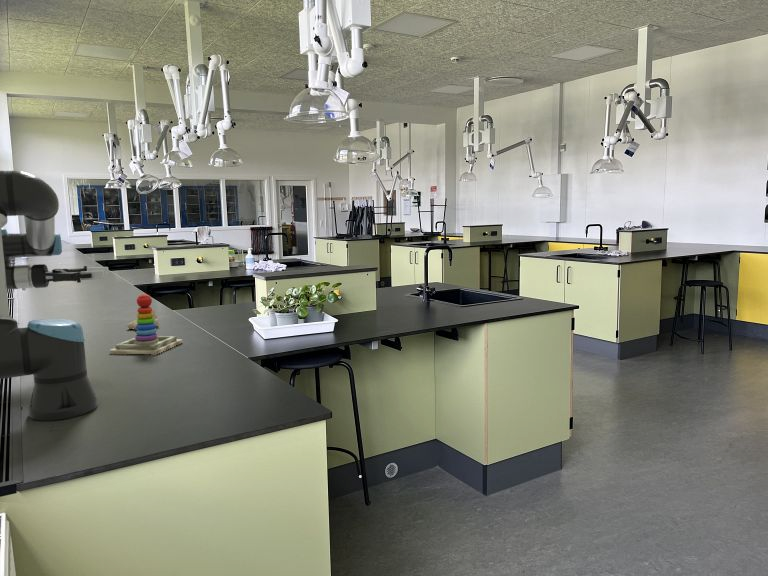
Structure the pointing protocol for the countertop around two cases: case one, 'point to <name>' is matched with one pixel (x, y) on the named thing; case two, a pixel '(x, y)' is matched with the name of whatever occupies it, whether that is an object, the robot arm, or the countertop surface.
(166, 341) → the rimmed tray
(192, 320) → the countertop surface
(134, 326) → the beige animal figurine
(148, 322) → the stacking toy
